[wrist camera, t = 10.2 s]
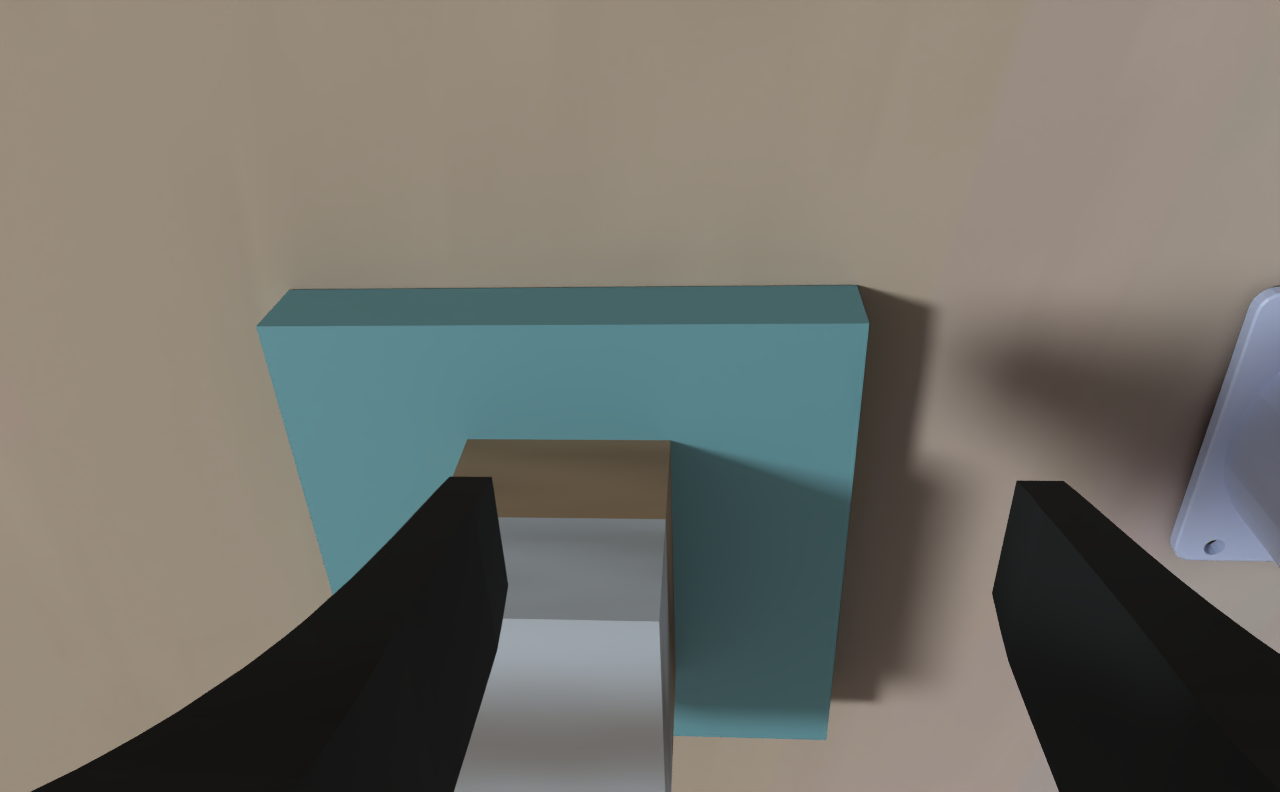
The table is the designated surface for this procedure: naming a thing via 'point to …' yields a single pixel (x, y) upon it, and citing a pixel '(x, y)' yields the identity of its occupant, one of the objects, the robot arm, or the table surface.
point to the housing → (579, 619)
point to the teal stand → (610, 410)
